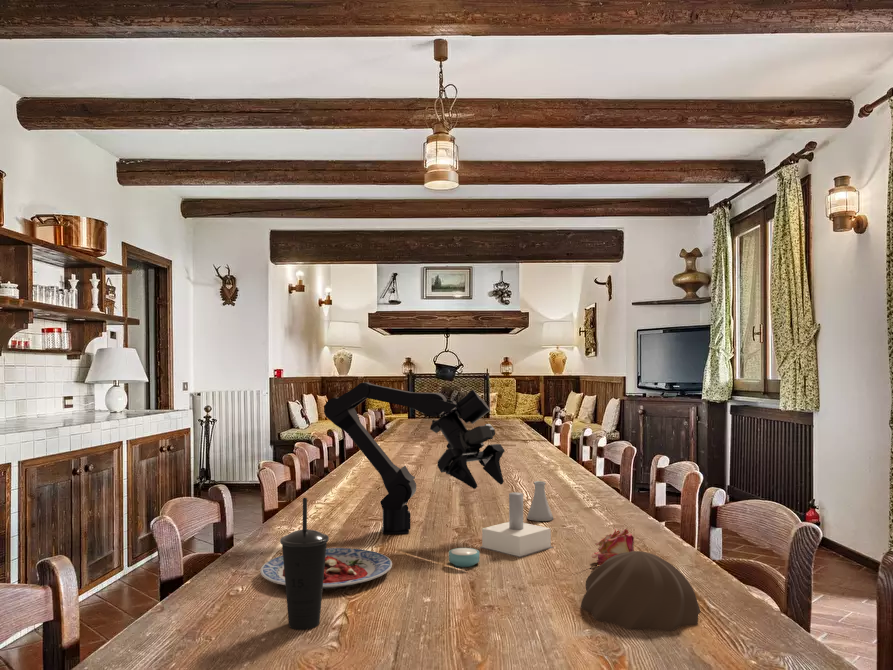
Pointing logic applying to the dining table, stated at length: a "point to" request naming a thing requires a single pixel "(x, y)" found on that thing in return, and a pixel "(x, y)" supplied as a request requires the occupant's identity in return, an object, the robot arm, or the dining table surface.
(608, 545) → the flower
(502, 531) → the cream bowl cover
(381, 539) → the dining table surface
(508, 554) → the charcoal rubber mat
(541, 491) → the flask
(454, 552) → the teal ceramic bowl
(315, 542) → the drinking cup
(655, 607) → the decorative dome
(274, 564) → the ceramic plate
